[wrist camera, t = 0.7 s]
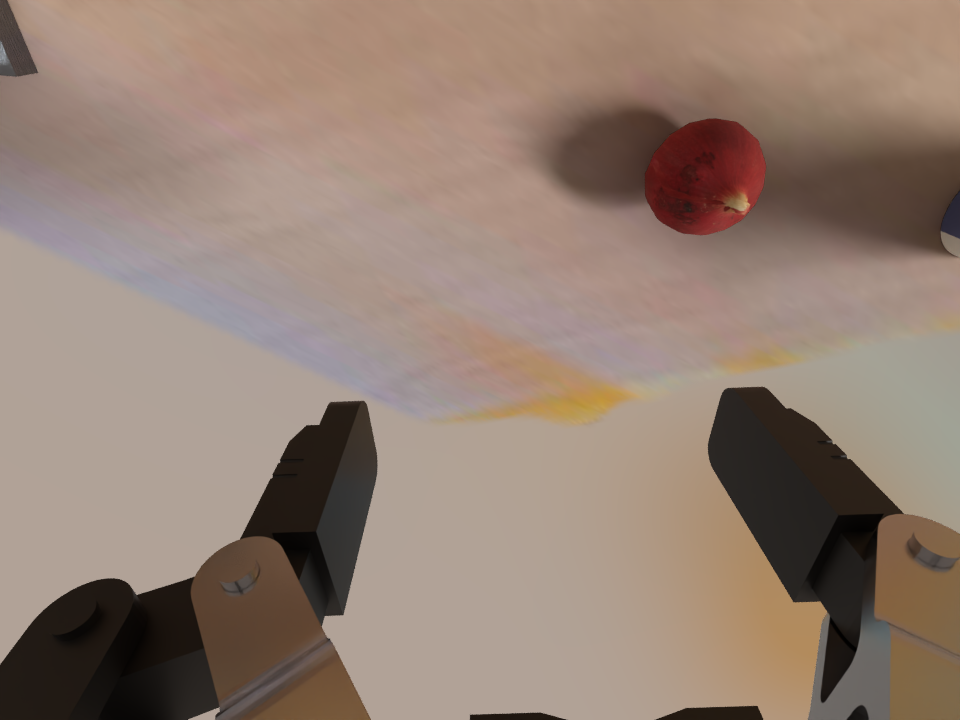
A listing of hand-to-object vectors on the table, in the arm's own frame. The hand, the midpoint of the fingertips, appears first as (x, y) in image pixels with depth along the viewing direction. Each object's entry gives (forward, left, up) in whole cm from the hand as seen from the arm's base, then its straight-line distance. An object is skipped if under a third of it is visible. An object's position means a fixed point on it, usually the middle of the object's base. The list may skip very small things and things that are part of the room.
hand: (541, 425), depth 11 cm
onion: (-1, +11, -22) cm, 25 cm away
